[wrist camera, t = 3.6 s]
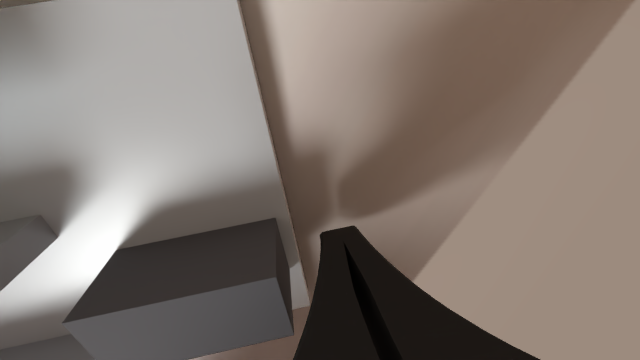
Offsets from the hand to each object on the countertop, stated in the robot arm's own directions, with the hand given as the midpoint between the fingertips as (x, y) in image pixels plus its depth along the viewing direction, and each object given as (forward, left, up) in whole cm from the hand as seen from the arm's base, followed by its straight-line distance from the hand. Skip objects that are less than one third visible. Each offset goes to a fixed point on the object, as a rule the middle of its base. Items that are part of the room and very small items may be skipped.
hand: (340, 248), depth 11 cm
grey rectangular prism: (0, +5, -1) cm, 5 cm away
